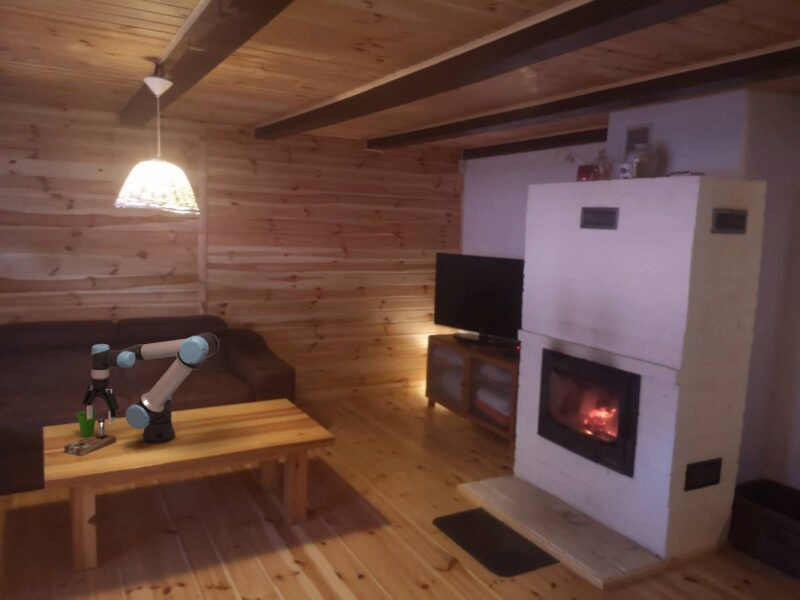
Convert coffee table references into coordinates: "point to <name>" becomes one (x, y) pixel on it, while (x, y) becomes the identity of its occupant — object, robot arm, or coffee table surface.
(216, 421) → the coffee table surface
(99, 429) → the lock pin
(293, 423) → the coffee table surface
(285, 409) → the coffee table surface
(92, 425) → the cup
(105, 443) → the mount board
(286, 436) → the coffee table surface
